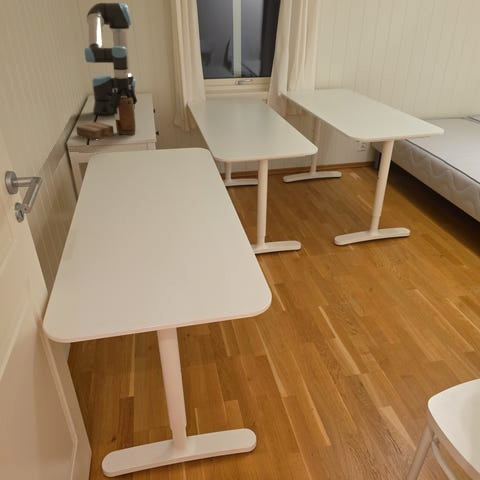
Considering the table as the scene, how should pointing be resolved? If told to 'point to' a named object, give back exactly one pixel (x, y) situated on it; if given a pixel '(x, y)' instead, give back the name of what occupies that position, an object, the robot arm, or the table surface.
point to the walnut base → (95, 130)
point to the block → (126, 116)
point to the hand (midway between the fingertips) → (125, 117)
